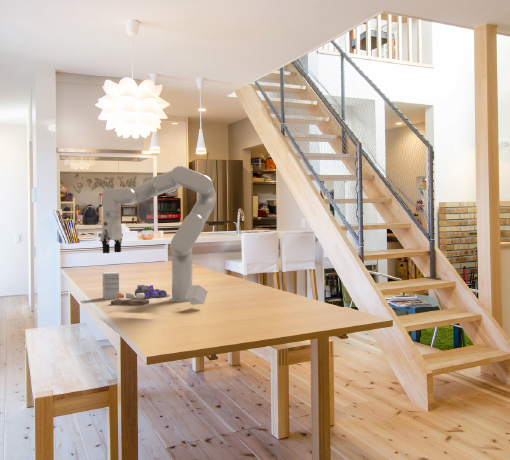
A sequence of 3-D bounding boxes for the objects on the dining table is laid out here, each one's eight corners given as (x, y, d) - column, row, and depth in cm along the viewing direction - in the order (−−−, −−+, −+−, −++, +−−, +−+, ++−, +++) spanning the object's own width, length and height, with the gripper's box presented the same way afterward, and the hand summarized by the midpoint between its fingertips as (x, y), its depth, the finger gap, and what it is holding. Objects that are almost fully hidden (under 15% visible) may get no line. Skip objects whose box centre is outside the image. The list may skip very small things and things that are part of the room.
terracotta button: (125, 297, 217) (125, 292, 217) (121, 298, 213) (121, 293, 213) (118, 297, 217) (118, 292, 217) (114, 298, 214) (114, 293, 214)
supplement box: (102, 298, 235) (102, 272, 236) (118, 297, 238) (117, 271, 238) (103, 299, 229) (103, 273, 229) (119, 298, 231) (119, 272, 231)
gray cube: (184, 298, 207) (189, 286, 210) (193, 304, 210) (198, 292, 213) (194, 297, 203) (198, 285, 206) (203, 303, 207) (207, 291, 210)
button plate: (149, 303, 215) (149, 299, 215) (143, 305, 209) (143, 301, 209) (117, 302, 219) (117, 299, 219) (110, 304, 213) (110, 301, 213)
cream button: (145, 297, 214) (145, 293, 214) (142, 298, 211) (142, 294, 211) (138, 297, 215) (138, 293, 215) (134, 298, 212) (134, 294, 212)
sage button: (135, 297, 215) (135, 292, 215) (131, 298, 212) (131, 293, 212) (128, 297, 216) (128, 292, 216) (124, 298, 213) (124, 293, 213)
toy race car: (171, 297, 237) (170, 284, 237) (142, 300, 228) (142, 286, 228) (162, 295, 245) (162, 282, 245) (134, 298, 236) (134, 284, 236)
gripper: (108, 214, 212) (108, 253, 212) (128, 215, 229) (129, 251, 228) (93, 215, 214) (94, 253, 214) (114, 216, 230) (115, 251, 230)
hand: (112, 252), depth 221 cm, fingers open, 9 cm apart
